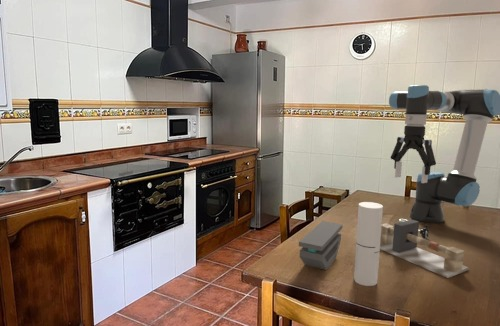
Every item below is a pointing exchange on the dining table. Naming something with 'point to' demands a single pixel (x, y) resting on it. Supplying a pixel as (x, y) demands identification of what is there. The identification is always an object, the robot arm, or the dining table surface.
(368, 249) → the cylindrical container
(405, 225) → the collar
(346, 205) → the dining table surface
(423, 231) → the valve
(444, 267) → the rail
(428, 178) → the robot arm
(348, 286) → the dining table surface
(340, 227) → the grey grooved block
